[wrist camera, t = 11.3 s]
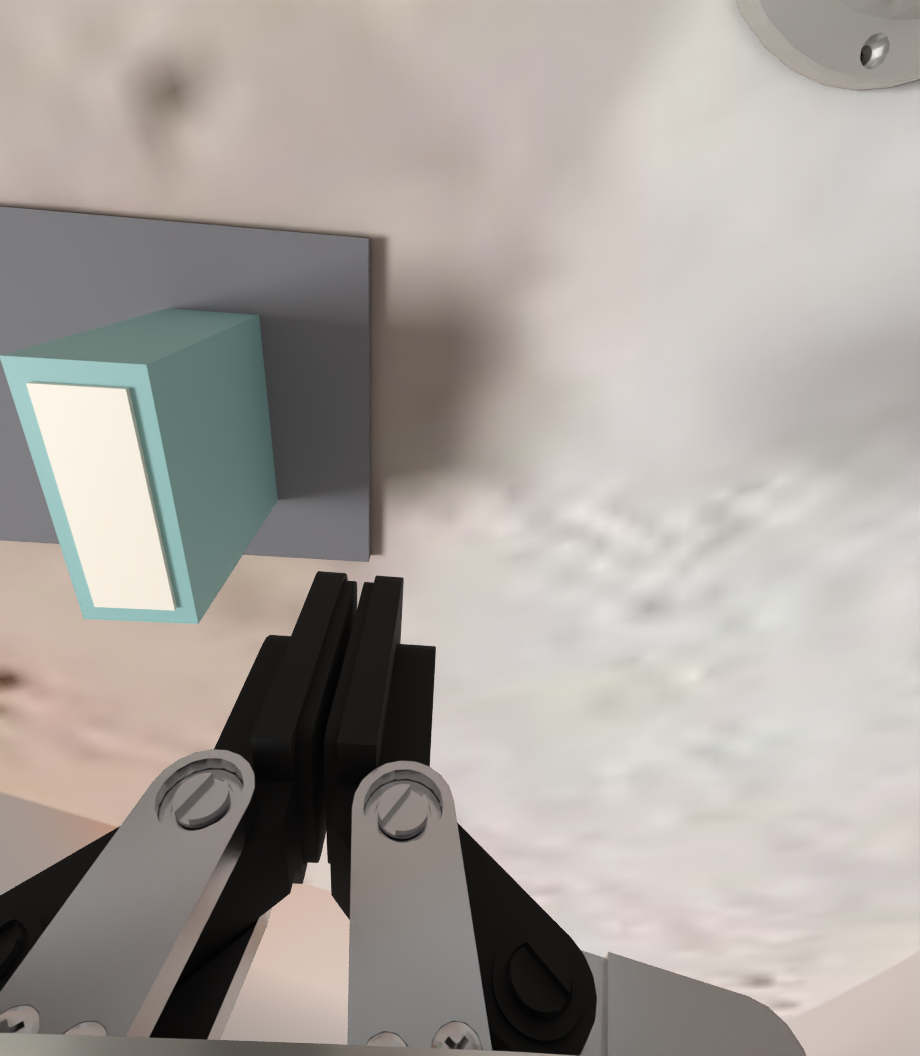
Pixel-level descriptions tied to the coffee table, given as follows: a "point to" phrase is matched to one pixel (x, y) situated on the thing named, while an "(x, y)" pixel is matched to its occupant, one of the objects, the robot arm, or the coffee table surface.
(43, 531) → the mat
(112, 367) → the teal slab
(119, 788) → the coffee table surface
